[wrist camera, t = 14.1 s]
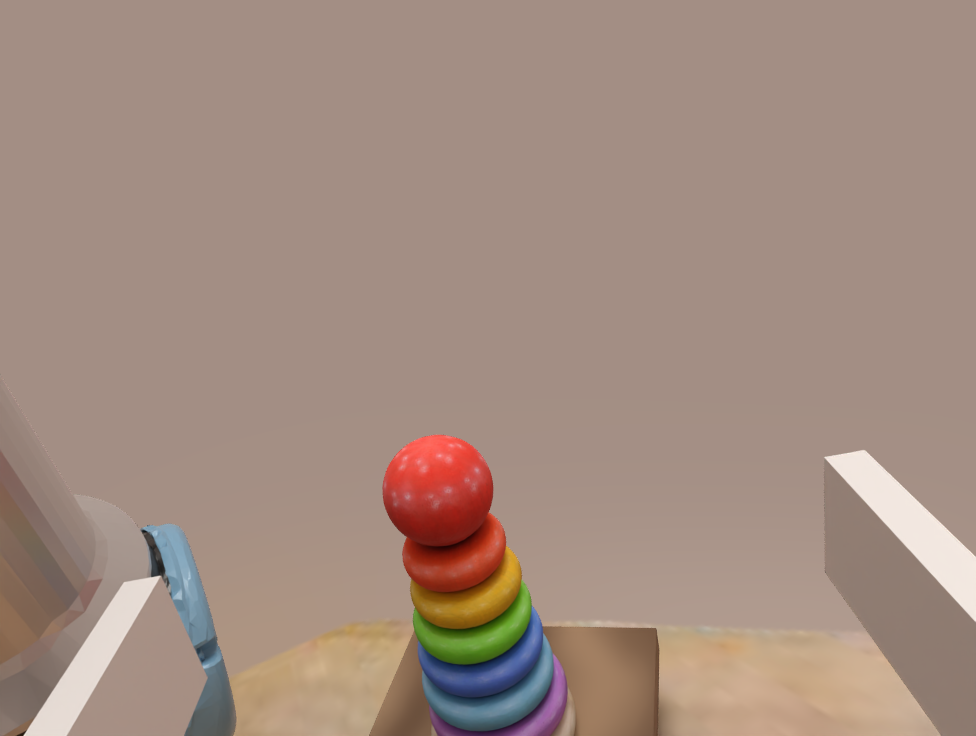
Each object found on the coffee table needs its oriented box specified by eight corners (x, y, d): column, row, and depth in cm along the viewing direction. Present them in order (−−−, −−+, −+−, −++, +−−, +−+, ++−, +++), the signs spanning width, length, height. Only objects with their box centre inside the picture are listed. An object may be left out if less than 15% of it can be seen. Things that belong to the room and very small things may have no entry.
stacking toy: (425, 703, 43) (338, 427, 36) (551, 659, 44) (491, 383, 37) (451, 824, 36) (348, 508, 28) (601, 767, 37) (539, 450, 30)
